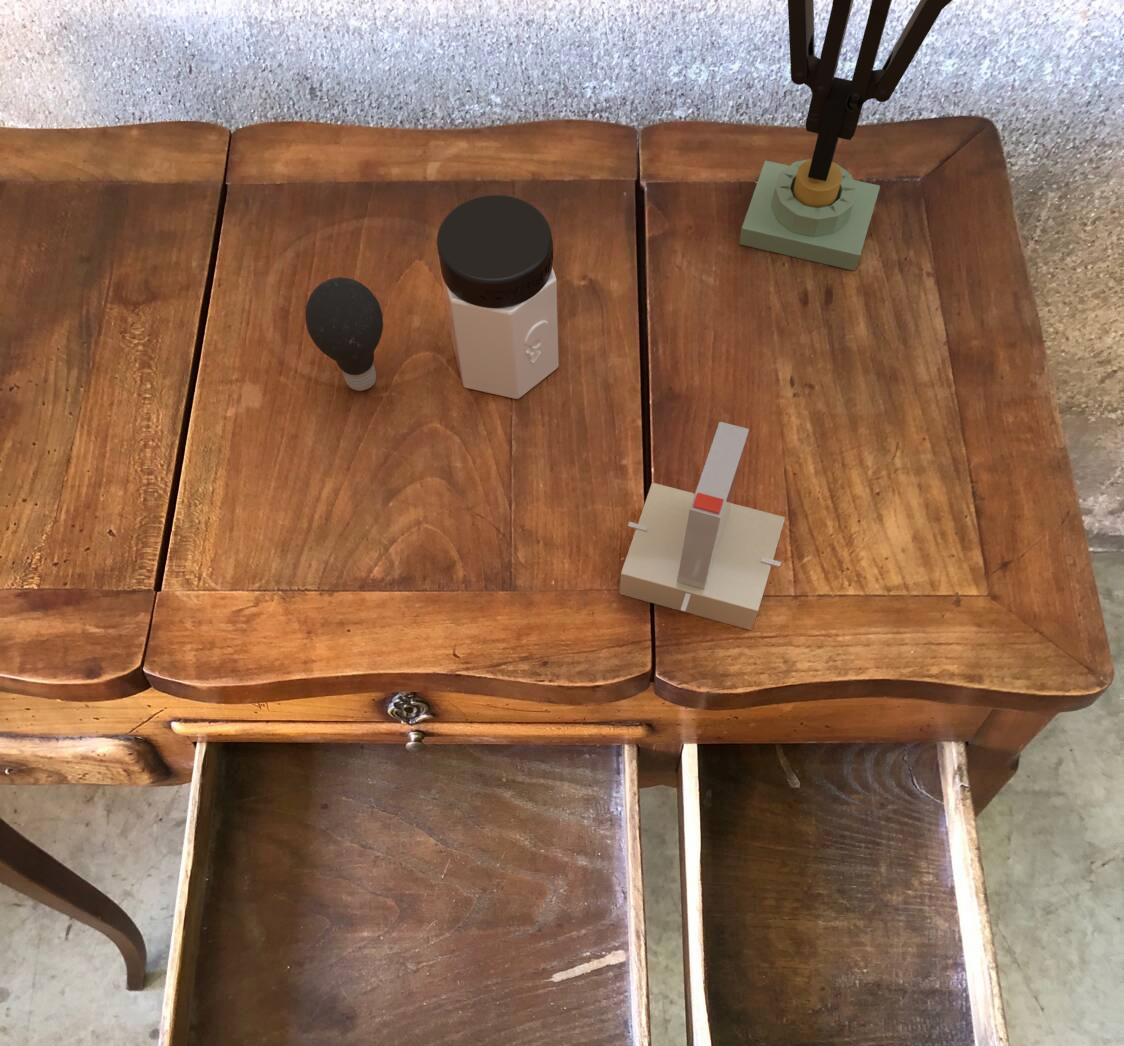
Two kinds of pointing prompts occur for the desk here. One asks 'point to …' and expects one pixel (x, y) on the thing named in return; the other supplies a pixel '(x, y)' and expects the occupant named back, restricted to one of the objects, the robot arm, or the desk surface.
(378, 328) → the light bulb
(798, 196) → the button
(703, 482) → the tap handle
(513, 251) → the jar
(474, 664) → the desk surface
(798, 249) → the button block
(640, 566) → the panel
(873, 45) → the robot arm
